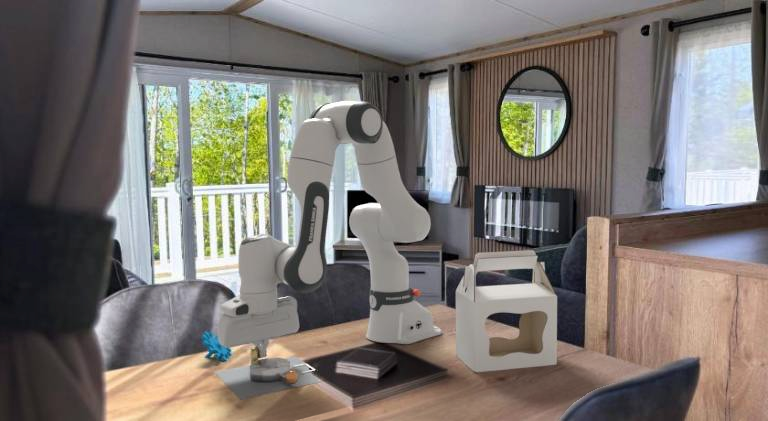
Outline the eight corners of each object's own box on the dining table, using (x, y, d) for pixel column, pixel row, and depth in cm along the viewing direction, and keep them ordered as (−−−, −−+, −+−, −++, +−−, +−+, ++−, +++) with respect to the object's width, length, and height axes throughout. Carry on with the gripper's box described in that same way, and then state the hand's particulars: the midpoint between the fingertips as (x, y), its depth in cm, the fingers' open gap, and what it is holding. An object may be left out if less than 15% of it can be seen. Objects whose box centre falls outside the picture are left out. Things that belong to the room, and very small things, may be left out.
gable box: (473, 373, 140) (473, 257, 138) (454, 356, 153) (454, 249, 151) (557, 365, 145) (558, 253, 143) (532, 349, 158) (533, 246, 156)
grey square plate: (295, 360, 151) (295, 355, 151) (330, 383, 134) (330, 378, 134) (214, 376, 140) (214, 371, 140) (240, 404, 123) (240, 398, 123)
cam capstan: (269, 361, 146) (268, 343, 146) (312, 381, 132) (312, 361, 132) (234, 370, 140) (233, 351, 140) (276, 392, 126) (275, 371, 126)
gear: (225, 361, 145) (198, 332, 147) (208, 378, 146) (182, 348, 147) (241, 354, 156) (217, 326, 158) (226, 369, 157) (201, 342, 158)
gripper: (290, 292, 151) (292, 345, 152) (213, 306, 138) (216, 363, 139) (302, 296, 146) (304, 350, 147) (224, 311, 133) (227, 370, 134)
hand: (261, 357), depth 143 cm, fingers closed, pressing on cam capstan
